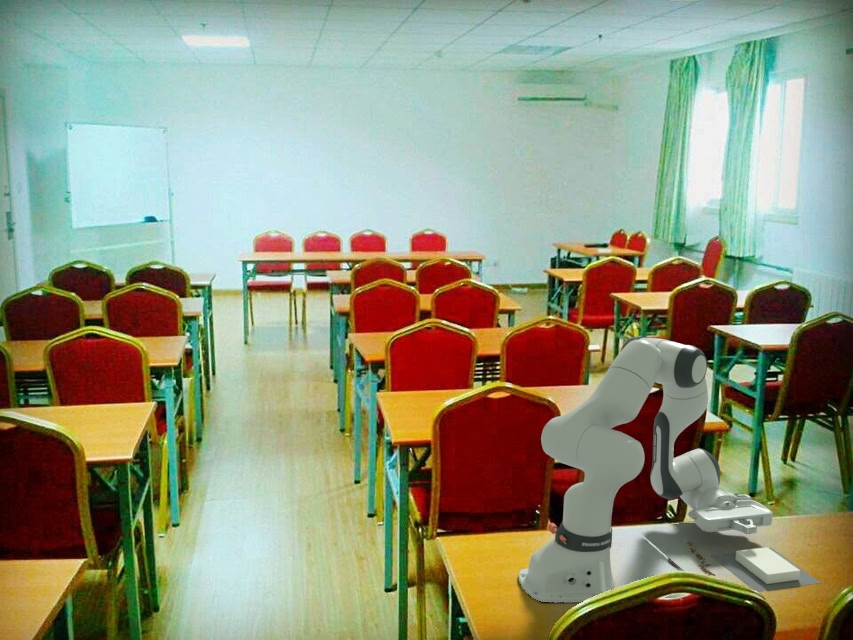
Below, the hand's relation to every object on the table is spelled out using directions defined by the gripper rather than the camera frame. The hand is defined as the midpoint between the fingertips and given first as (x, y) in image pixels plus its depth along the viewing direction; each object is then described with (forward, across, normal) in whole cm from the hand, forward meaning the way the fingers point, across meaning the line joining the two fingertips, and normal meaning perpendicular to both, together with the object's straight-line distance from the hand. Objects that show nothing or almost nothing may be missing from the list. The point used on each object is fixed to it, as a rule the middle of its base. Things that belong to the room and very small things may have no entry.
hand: (752, 531), depth 198 cm
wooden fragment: (-4, -15, +8) cm, 18 cm away
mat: (+6, 0, +8) cm, 10 cm away
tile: (+1, 0, +6) cm, 6 cm away
